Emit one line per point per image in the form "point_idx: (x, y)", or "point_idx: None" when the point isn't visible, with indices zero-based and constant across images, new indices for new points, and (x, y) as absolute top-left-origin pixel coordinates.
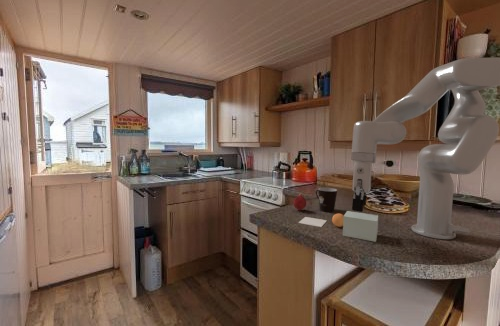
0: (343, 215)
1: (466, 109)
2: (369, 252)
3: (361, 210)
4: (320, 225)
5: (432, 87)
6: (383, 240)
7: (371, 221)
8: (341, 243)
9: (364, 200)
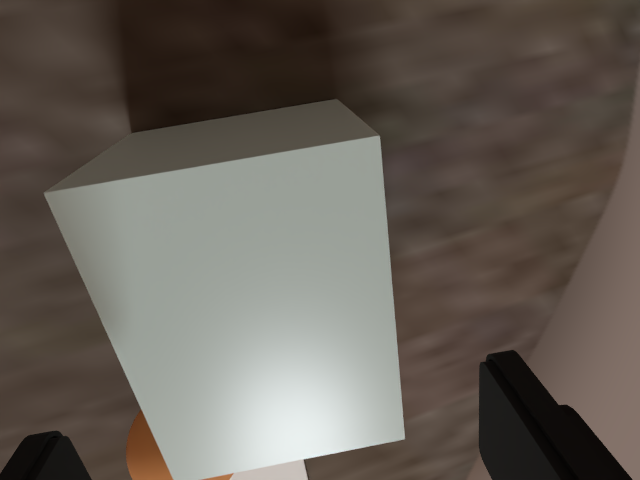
0: (162, 459)
1: None
2: (576, 89)
3: (520, 368)
4: (281, 470)
5: None
6: (251, 51)
7: (381, 195)
8: (508, 276)
9: None
